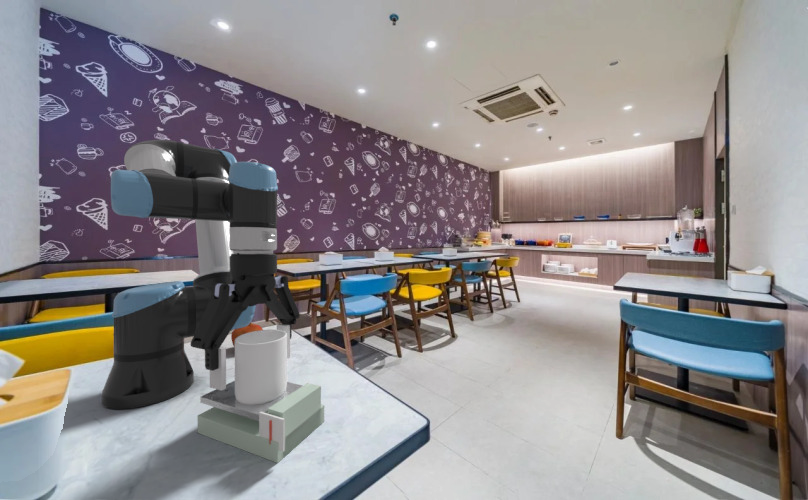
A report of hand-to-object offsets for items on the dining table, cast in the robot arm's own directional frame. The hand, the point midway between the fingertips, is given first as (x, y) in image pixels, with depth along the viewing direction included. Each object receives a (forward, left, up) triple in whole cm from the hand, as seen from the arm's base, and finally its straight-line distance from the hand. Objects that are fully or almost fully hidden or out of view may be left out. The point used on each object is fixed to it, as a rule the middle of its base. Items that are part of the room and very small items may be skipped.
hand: (254, 370), depth 52 cm
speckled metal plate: (0, 0, -7) cm, 7 cm away
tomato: (-34, +27, -10) cm, 45 cm away
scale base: (+2, 0, -10) cm, 10 cm away
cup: (0, 0, -4) cm, 4 cm away
